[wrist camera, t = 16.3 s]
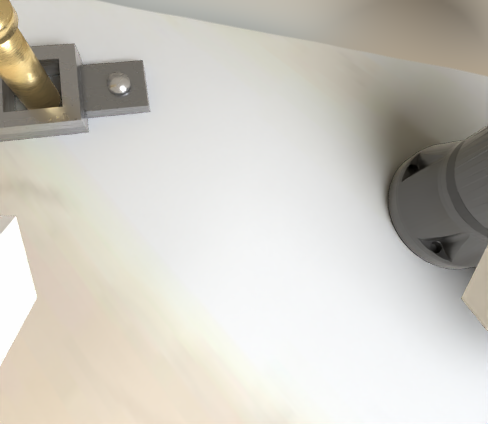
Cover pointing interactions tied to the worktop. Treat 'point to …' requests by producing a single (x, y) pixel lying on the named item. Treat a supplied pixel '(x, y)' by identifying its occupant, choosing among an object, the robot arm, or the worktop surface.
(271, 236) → the worktop surface
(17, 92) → the brass pin
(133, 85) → the grey flange mount bracket
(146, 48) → the worktop surface
